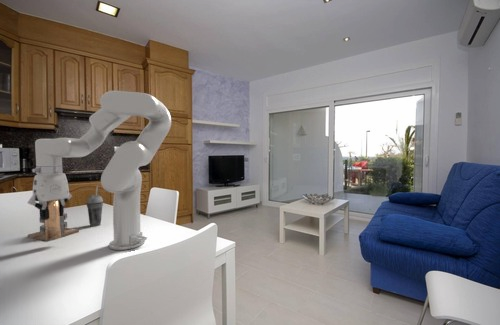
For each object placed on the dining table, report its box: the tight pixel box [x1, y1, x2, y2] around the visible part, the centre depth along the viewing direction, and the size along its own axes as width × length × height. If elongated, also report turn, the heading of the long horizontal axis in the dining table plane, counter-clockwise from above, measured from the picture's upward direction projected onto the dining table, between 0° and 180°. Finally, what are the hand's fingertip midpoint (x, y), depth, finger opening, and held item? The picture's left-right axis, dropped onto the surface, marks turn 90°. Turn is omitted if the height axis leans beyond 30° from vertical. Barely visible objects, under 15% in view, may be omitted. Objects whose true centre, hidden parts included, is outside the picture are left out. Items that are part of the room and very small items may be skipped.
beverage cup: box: [85, 185, 104, 228], centre depth 116 cm, size 7×7×20 cm
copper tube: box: [45, 199, 62, 241], centre depth 89 cm, size 5×5×18 cm
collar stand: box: [27, 212, 80, 242], centre depth 102 cm, size 14×12×8 cm
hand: (52, 217), depth 89 cm, fingers closed on copper tube, 4 cm apart
